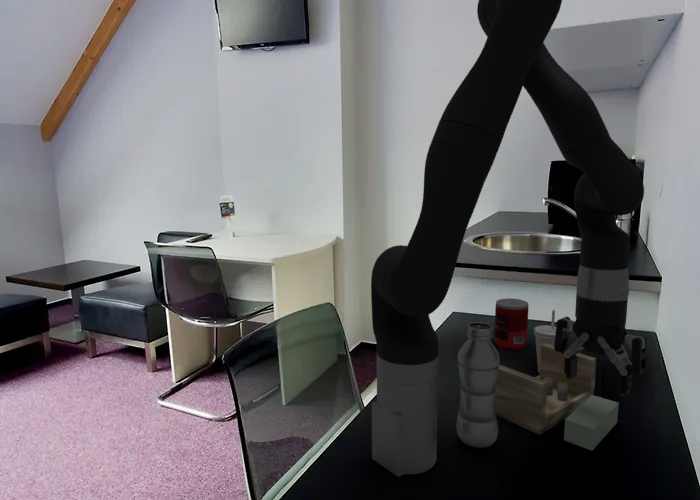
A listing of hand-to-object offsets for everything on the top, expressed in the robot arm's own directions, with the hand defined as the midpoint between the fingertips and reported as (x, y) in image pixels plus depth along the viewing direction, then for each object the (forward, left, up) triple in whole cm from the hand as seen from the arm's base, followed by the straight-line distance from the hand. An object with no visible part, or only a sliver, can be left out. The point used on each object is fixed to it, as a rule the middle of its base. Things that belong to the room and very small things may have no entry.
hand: (595, 386), depth 85 cm
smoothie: (+16, +18, -8) cm, 25 cm away
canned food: (+24, +33, -8) cm, 41 cm away
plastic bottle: (-18, +10, -8) cm, 23 cm away
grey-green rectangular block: (0, 0, -8) cm, 8 cm away
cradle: (+1, +10, -8) cm, 13 cm away
